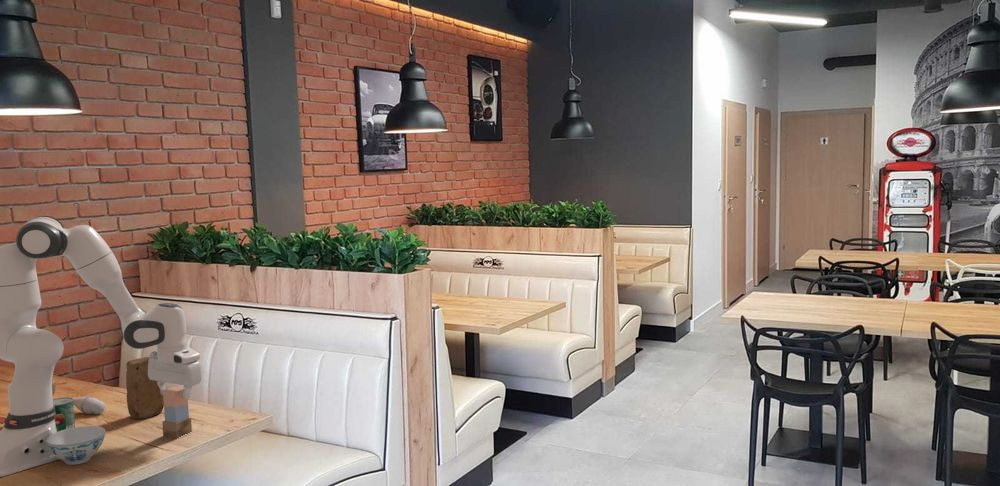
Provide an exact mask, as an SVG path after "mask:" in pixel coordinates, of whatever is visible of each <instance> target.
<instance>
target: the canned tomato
mask: <svg viewBox="0 0 1000 486" xmlns="http://www.w3.org/2000/svg"><path fill="white" fill-rule="evenodd" d="M53 405H54V406H55V412H56V421H55V425H56V430H57V432H59V431H62V430H65V429H69V428H74V427H76V421H75V406H74V404H73V398H72V397H65V396H64V397H63V396H62V397H57V398H53Z"/></svg>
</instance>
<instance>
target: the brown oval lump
mask: <svg viewBox="0 0 1000 486" xmlns="http://www.w3.org/2000/svg"><path fill="white" fill-rule="evenodd" d="M148 362H149V356H144V357H141V358H140V357H139V358H136V359H135V358H134V359H131V360H128V361H126V365H125V366H126V373H125V374H126V375H125V378H126V380H125V381H126V385H125V386H126V405H127V412H128V414H129V415H130V417H131V418H132V419H134V420H142V419H144V420H145V419H147V418H148V419H149V418H152V417H155V416H157V415H160V414H161V413H162V412H163V411H164V399H163V395H161V390H160V388H159V386H158V384H157V381H154V380H150V379H149V377H148Z"/></svg>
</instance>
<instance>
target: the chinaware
mask: <svg viewBox="0 0 1000 486" xmlns="http://www.w3.org/2000/svg"><path fill="white" fill-rule="evenodd" d="M105 436H106V428H105V427H102V426H97V425H85V426H84V425H82V426H75V427H74V428H69V429H65V430H62V431H59V432H56V433H54V434H52V435H50V436H49V437H48V438H47V439H46V442H47V445H48V447H49V449H50V451H51V452H52V453H53V454H54V455H55V456H56V457H57V458H58V460H61V461H64V463H65V464H66V465H69V466H70V465H74V466H75V465H79V464H83V463H87V462H89V461H90V460H91V459H92V456H93V455H94V454H96V453H97V451H98V450H99V449H100V448H101V446H102V445H103V441H104V440H105Z"/></svg>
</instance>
